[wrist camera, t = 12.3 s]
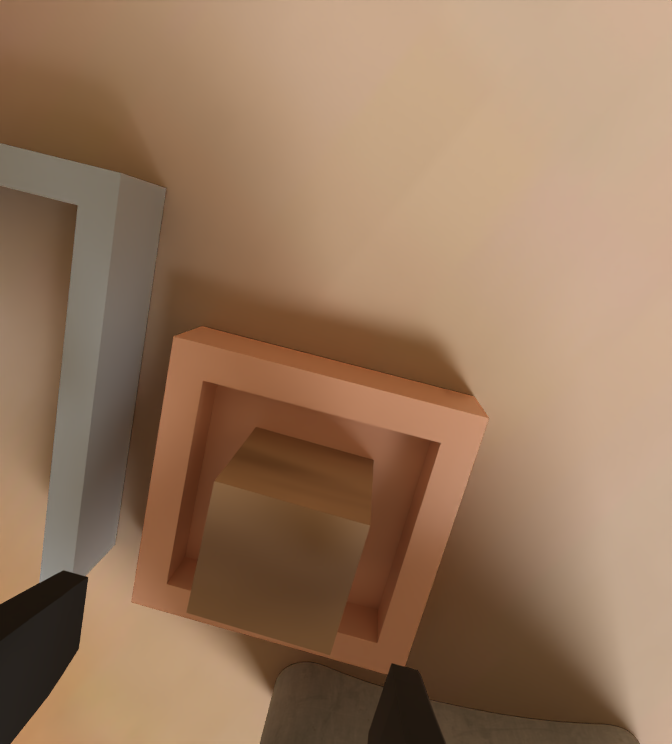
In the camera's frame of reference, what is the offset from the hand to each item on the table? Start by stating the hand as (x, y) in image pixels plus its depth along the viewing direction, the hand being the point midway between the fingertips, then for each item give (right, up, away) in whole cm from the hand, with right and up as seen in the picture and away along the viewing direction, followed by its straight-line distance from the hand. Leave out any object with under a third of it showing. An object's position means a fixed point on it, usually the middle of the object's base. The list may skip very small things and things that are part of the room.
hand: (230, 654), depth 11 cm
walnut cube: (+1, +2, +7) cm, 8 cm away
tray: (+1, +2, +8) cm, 8 cm away
